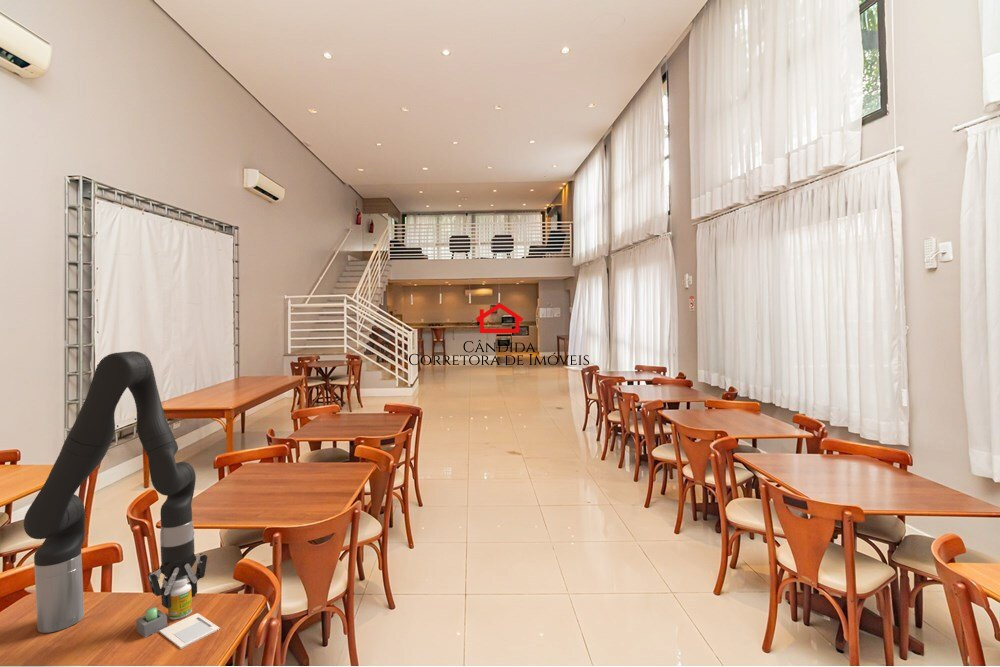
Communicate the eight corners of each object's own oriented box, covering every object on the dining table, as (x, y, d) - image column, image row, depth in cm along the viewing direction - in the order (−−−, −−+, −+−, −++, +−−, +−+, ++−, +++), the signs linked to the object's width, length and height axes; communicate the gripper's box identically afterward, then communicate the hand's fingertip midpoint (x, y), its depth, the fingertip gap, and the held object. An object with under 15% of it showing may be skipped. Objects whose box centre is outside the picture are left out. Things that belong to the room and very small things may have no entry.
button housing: (136, 631, 126) (136, 619, 126) (159, 621, 130) (158, 609, 130) (144, 637, 123) (144, 625, 123) (167, 627, 127) (166, 615, 127)
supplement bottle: (180, 621, 130) (179, 584, 129) (163, 619, 131) (161, 582, 130) (197, 609, 135) (195, 574, 135) (180, 607, 136) (178, 572, 136)
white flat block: (159, 632, 125) (159, 630, 125) (197, 614, 133) (197, 612, 133) (181, 649, 118) (180, 647, 118) (219, 629, 126) (219, 627, 126)
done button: (144, 623, 126) (143, 610, 126) (155, 618, 128) (154, 606, 128) (148, 626, 125) (147, 613, 125) (159, 621, 127) (158, 609, 127)
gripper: (199, 526, 140) (201, 585, 141) (140, 546, 128) (143, 610, 129) (212, 532, 136) (214, 593, 136) (152, 553, 124) (155, 619, 125)
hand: (179, 601), depth 133 cm, fingers closed on supplement bottle, 5 cm apart
